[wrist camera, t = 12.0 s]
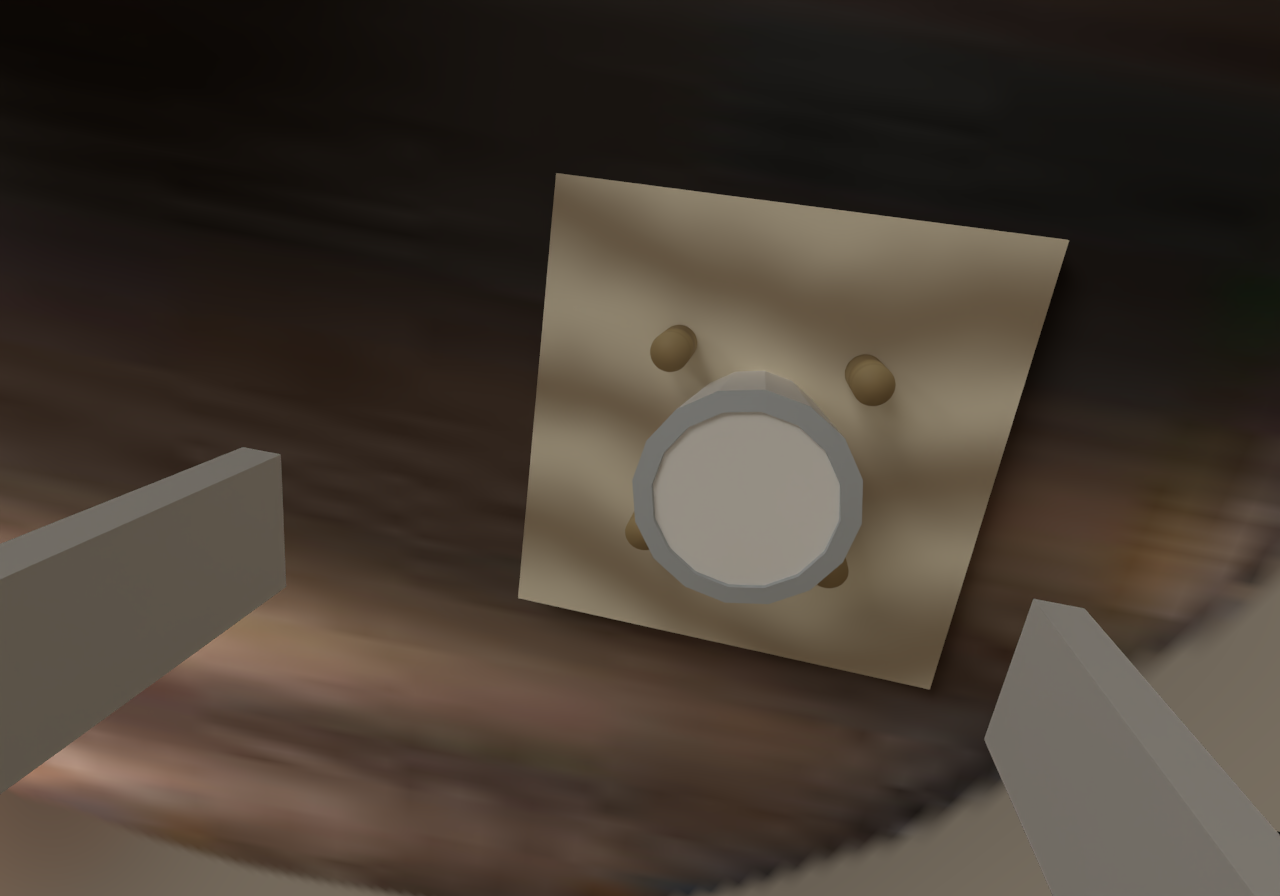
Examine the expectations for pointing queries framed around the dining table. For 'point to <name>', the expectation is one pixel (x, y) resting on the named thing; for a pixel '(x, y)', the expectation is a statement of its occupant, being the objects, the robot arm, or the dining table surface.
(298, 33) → the dining table surface
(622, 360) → the pin board
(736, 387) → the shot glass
